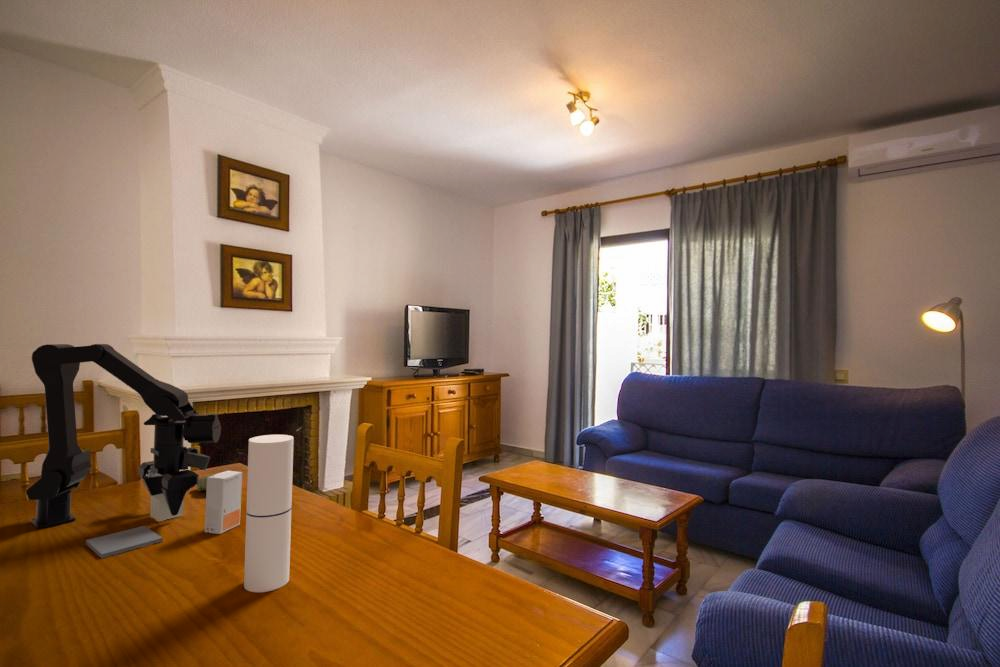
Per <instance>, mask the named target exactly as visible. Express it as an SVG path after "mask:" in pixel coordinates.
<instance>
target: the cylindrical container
mask: <svg viewBox="0 0 1000 667" xmlns="http://www.w3.org/2000/svg"><path fill="white" fill-rule="evenodd" d="M294 441H295V440H294V436H293V435H290V434H289V435H288V434H266V435H265V434H264V435H258V436H254V437H250V438H249V439H248V451H247V452H248V453H247V454H248V455H247V478H246V480H247V485H246V486H247V487H246V512H245V513H246V517H245V544H244V546H245V548H244V574H243V575H244V577H243V587H244V589H245V590H246V591H248V592H250V593H251V592H252V593H266V592H271V591H275V590H277V589H280V588H282V587H284V586H285V585H286V584H288V582H289V581H290V567H291V566H290V562H291V560H290V559H291V538H292V537H291V535H292V534H291V531H292V530H291V529H292V528H291V527H292V506H293V505H292V502H293V501H292V500H293V497H292V496H293V471H294V470H293V469H294V468H293V467H294Z"/></svg>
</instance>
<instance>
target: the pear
mask: <svg viewBox="0 0 1000 667" xmlns="http://www.w3.org/2000/svg"><path fill="white" fill-rule="evenodd" d="M218 473H219V472H218ZM218 473H212V474H208V475H204V476H202V477H199V481H198V484H196V486H197V488H196V490H197V492H203V491H206V489H207V477H210V476H213V475H215V474H218Z"/></svg>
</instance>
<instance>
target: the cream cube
mask: <svg viewBox="0 0 1000 667" xmlns="http://www.w3.org/2000/svg"><path fill="white" fill-rule="evenodd" d="M184 500H185V497H184V498H183V501H182V504H181V506H180V509H179V512H178V514H177V515H174V516H172V515H171V512H170V510H169V507H168V505H167V502H166V499H165V496H164V494H163V493H162V494H157V495H153V496H151V495H150V506H149V507H150V508H149V509H150V510H149V511H150V512H149V514H150V515H149V517H150V516H151V517H153V518H154V519H156V520H157V521H162V520H166V519H170V518H174V517H178V516H182V515H183V516H184ZM183 516H182V517H183ZM151 517H150V518H151ZM178 518H179V517H178ZM154 519H153V520H154ZM174 519H175V518H174ZM156 520H155V521H156ZM170 520H171V519H170ZM157 521H156V522H157ZM166 521H167V520H166ZM162 522H163V521H162Z"/></svg>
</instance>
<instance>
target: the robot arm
mask: <svg viewBox="0 0 1000 667" xmlns="http://www.w3.org/2000/svg"><path fill="white" fill-rule="evenodd" d="M31 362H32V366H33V369H34V371H35V375H37V377H38V379H39V380H40V381H41V383H42V385H43V386H44V397H45V411H46V412H45V414H46V424H47V426H46V428H47V436H48V438H47V440H48V451H47V453H46V455H45V458H44V460H43V462H42V465H41V472H40V478H39V479H38V480H37V481H36V482H34V484H32V485H31V486H30V487H29V488H27V489H26V490H25V493H26V496H27V498H28V501H34V500H35V501H36V510H35V514H36V515H35V518H31V519H30V522H31V524H32V525H33V526H34V527H35V528H36V529H41V528H45V527H46V528H47V527H50V526H54V525H60V524H64V523H69V522H74V521H76V520H77V518H76V516H74V515H73V514H72V513H71V509H72V506H71V505H72V490H74V489H77V488H79V486H80V484H81V482H82V481H83V480H84V479H85V478H86V477H87V476H88V474H89V472H90V471H89V470H90V469H92V467H93V466H92V465H93V464H92V463H91V461H90V460H91V458H90V457H91V451H90V450H85V451H83V450H82V448H81V447H80V446H79V443H78V434H77V420H76V408H75V407H76V406H75V393H74V392H75V391H74V381H75V379H76V377H77V375H78V373H79V370H80V366H81V363H89V362H93V363H94V364H96V365H98V367H100V368H102V369H103V370H105V371H107V372H108V373H109V374H111V375H112V376H113V377H115V378H117V379H118V380H119V381H121V382H122V383H123V384H125V385H126V386H127V387H129V388H130V389H132V390H133V391H135V392H136V393H137V394H138V395H139V396H140V397H141V399H142V401H143V402H144V404H145V405H146V406H147V407H148V408H149V409H150V410H151V411H152V412H153V413H154V414H152V415H151V416H150V418H147V420H146V421H144V422H143V425H144V426H154V434H153V435H154V436H153V438H154V440H153V447H151V448H150V453H151V454H153V460H151V461H144V462H142V463H141V464H140V465H139V466H138V474H137V475H139V476H140V479H141V480H142V481H143V484H144V486H145V488H146V489H147V491H148V493H149V494H150V497H151V496H153V495H157V494H162V493H163V494H164V496H165V499H166V502H167V505H168V507H169V510H170V512H171V515H172V516H174V515H177V514H178V512H179V509H180V506H181V504H182V501H183V498H184V499H185V495H186V493H187V492H188V491H190V489H192V488H194V487H196V486H197V484H198V481H199V479H200V476H199V474H198V473H196V472H194V471H193V470H190V469H189V468H195V469H200V470H202V471H206V470H207V468H208V464H209V462H210V459H211V456H208V455H206V454H202V453H199V450H198V448H194V447H187V446H184V441H187V443H189V444H206V443H207V444H215V443H218V441H219V439H220V437H221V434H222V433H221V432H222V425H221V422H220V420H219V417H218V416H219V414H218V413H209V414H199V412H197V410H196V409H195V408H194V406H193V405H192V404H191V402H190V401H189V395H188V394H187V392H186V391H184V389H181V388H179V387H177V386H175V385H172V384H170V383H167V382H164V381H161V380H159V379H157V378H155V377H153V376H152V375H151V374H149V373H148V372H147V371H145V370H144V369H142V368H141V367H139V366H138V365H137V364H135V363H134V362H133V361H131V360H130V359H129V358H127V357H125V356H124V355H122V354H121V353H120V352H118V351H117V350H116V349H115V348H114V347H113V346H112V345H110V344H109V343H94V344H90V345H83V346H82V345H81V346H74V345H72V344H70V343H68V344H67V343H58V344H57V343H55V344H54V343H52V344H51V343H50V344H44V345H40V346H38V347H37V348H36V349H35V350H34V351H33V352H32V354H31Z"/></svg>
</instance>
